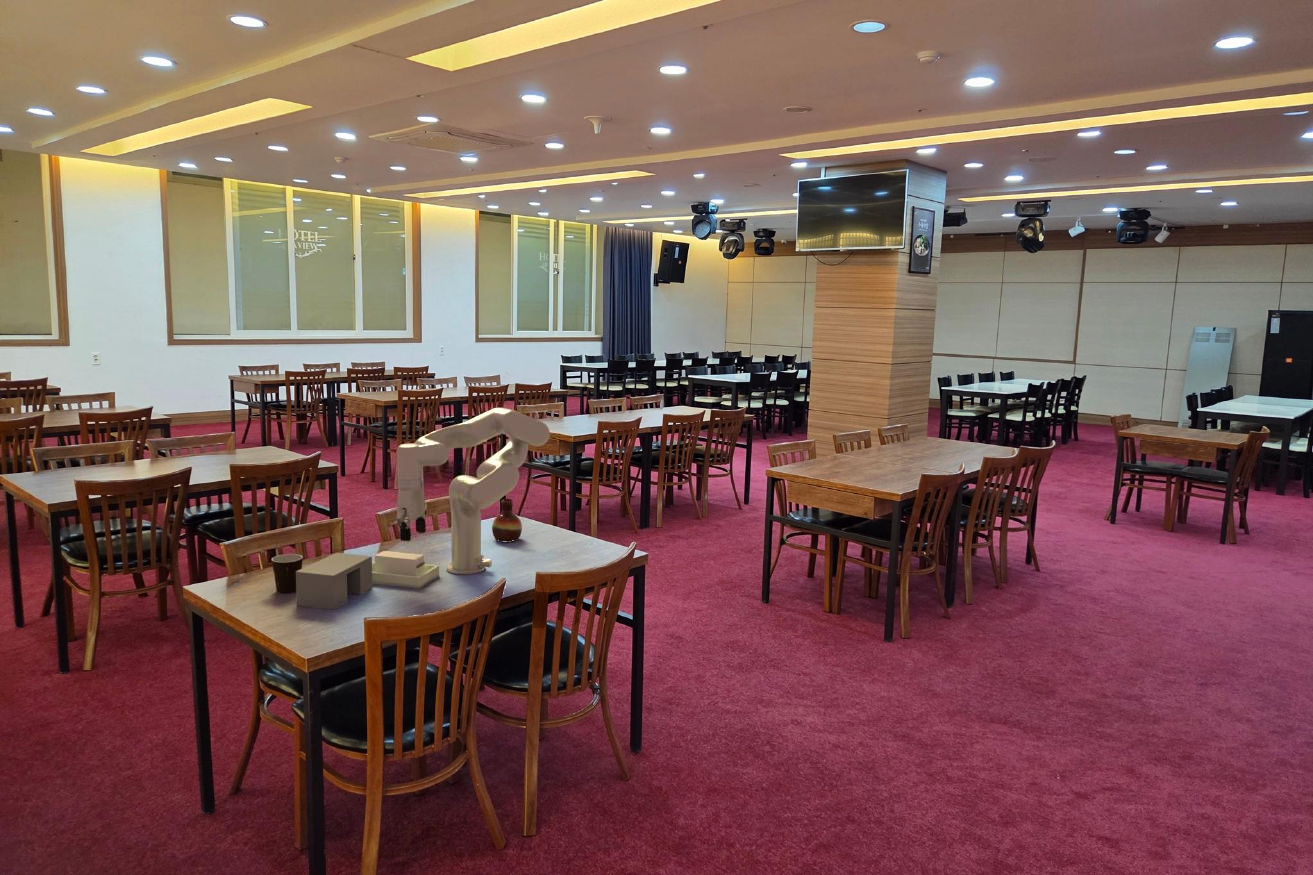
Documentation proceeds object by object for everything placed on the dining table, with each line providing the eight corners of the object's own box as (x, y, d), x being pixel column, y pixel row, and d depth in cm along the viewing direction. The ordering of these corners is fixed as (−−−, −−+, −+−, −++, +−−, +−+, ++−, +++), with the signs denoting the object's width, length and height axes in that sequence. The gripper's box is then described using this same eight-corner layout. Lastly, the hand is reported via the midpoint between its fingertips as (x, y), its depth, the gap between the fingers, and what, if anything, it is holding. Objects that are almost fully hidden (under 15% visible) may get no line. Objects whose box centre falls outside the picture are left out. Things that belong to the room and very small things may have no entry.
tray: (439, 576, 268) (439, 565, 267) (419, 588, 255) (419, 577, 255) (377, 569, 272) (377, 559, 272) (355, 581, 260) (355, 570, 259)
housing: (372, 587, 255) (371, 556, 253) (334, 609, 235) (333, 575, 234) (337, 583, 257) (336, 552, 256) (296, 605, 238) (295, 571, 236)
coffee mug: (281, 584, 254) (280, 553, 253) (308, 586, 254) (307, 554, 253) (262, 597, 243) (260, 564, 241) (291, 598, 243) (290, 566, 241)
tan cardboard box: (426, 576, 265) (426, 555, 264) (417, 581, 259) (417, 559, 258) (384, 571, 268) (384, 550, 267) (375, 576, 263) (374, 555, 262)
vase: (496, 535, 319) (497, 495, 317) (525, 536, 318) (525, 497, 316) (488, 542, 308) (488, 502, 306) (517, 544, 307) (517, 504, 305)
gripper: (413, 476, 268) (415, 528, 270) (385, 488, 251) (388, 543, 254) (435, 478, 266) (437, 529, 269) (408, 490, 249) (410, 545, 252)
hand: (413, 536), depth 261 cm, fingers open, 9 cm apart
